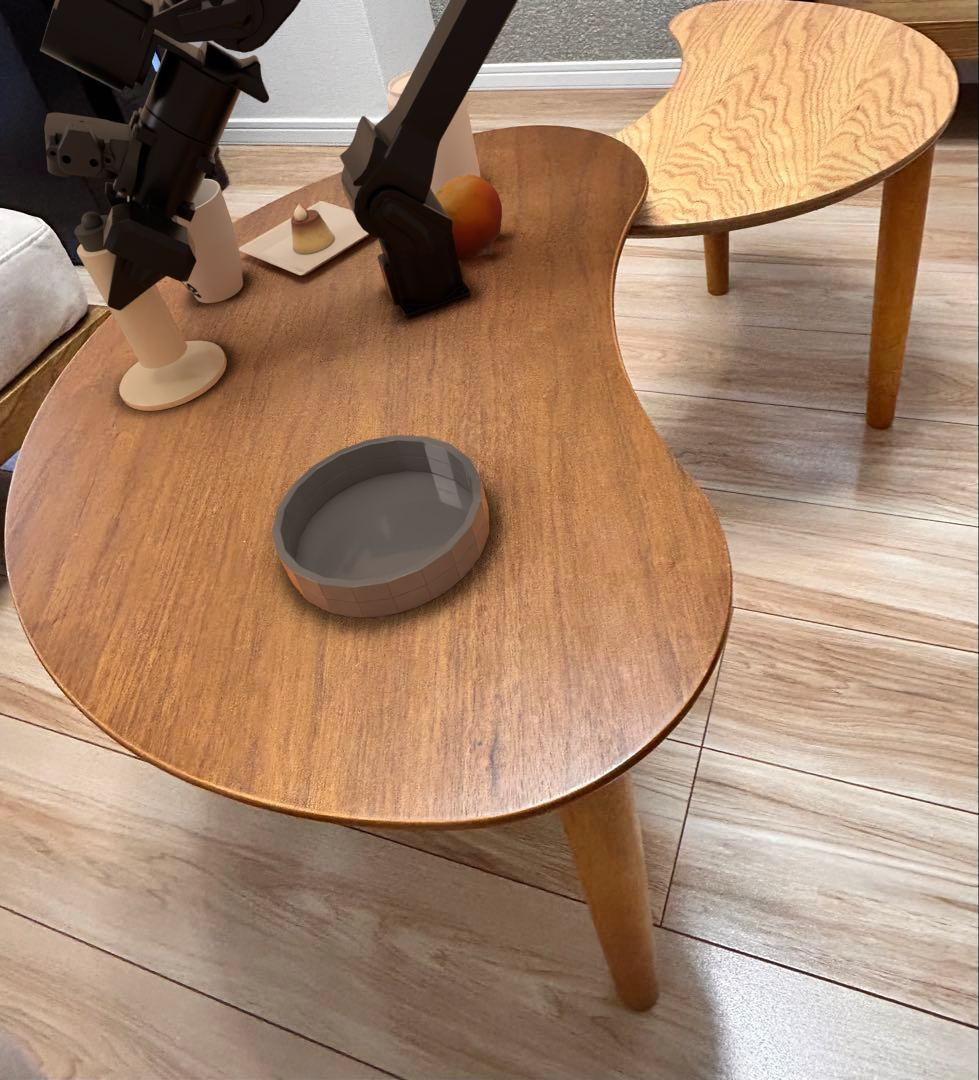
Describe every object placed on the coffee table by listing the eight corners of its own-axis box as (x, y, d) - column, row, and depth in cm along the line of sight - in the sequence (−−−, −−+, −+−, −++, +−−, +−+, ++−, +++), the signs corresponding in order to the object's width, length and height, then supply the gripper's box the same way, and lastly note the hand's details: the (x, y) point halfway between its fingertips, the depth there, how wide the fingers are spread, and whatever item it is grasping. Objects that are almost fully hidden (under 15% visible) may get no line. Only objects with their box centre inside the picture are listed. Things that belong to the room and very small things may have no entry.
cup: (189, 278, 94) (147, 189, 87) (261, 263, 93) (224, 171, 86) (176, 318, 88) (130, 225, 81) (253, 302, 87) (213, 207, 80)
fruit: (516, 251, 82) (460, 184, 78) (457, 293, 86) (401, 232, 83) (530, 210, 87) (478, 146, 83) (473, 252, 92) (422, 193, 88)
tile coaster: (220, 333, 84) (218, 328, 84) (233, 386, 77) (230, 381, 77) (120, 368, 83) (117, 362, 83) (124, 424, 76) (120, 419, 76)
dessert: (323, 209, 100) (310, 168, 96) (390, 231, 93) (378, 187, 89) (240, 258, 95) (223, 217, 91) (304, 285, 88) (287, 241, 85)
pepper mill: (194, 351, 78) (121, 208, 68) (150, 374, 76) (70, 232, 67) (176, 334, 80) (103, 194, 71) (133, 357, 79) (53, 217, 69)
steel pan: (454, 447, 66) (444, 411, 63) (520, 571, 56) (512, 534, 53) (276, 513, 64) (258, 478, 62) (311, 653, 54) (292, 618, 52)
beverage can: (400, 210, 96) (370, 97, 87) (428, 176, 101) (402, 66, 92) (467, 209, 93) (442, 92, 85) (492, 175, 98) (471, 61, 89)
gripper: (76, 35, 69) (19, 210, 76) (65, 105, 56) (-3, 308, 63) (212, 108, 75) (148, 263, 82) (231, 186, 62) (153, 363, 69)
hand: (113, 295), depth 74 cm, fingers closed on pepper mill, 4 cm apart
